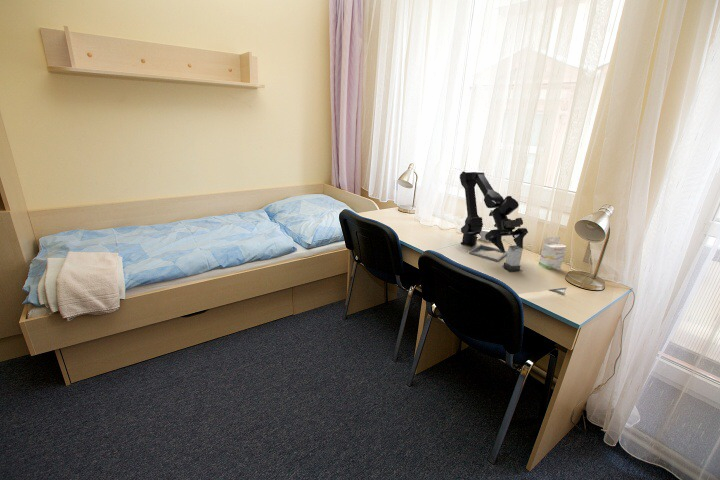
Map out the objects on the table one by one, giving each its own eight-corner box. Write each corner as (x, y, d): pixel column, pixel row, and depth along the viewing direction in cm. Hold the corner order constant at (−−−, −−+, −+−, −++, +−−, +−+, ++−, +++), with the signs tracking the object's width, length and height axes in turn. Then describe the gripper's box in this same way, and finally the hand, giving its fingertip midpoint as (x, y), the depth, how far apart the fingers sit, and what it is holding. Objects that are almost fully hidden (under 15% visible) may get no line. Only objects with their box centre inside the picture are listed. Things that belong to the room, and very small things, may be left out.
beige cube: (491, 239, 189) (493, 229, 186) (487, 242, 184) (489, 231, 182) (480, 236, 192) (482, 226, 190) (476, 239, 188) (478, 229, 185)
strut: (503, 266, 150) (507, 245, 147) (512, 265, 151) (516, 245, 148) (510, 271, 146) (514, 249, 142) (519, 270, 147) (524, 249, 144)
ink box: (545, 271, 150) (553, 240, 145) (537, 267, 155) (544, 237, 150) (561, 270, 152) (569, 239, 147) (552, 265, 157) (560, 236, 152)
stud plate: (498, 268, 151) (499, 265, 151) (512, 267, 153) (512, 264, 153) (509, 275, 145) (509, 272, 145) (522, 274, 147) (523, 271, 146)
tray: (468, 256, 164) (469, 251, 163) (479, 248, 174) (480, 244, 173) (497, 264, 156) (498, 259, 155) (507, 256, 166) (508, 251, 165)
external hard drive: (540, 289, 136) (546, 278, 145) (562, 296, 131) (568, 285, 140) (540, 285, 135) (547, 275, 144) (563, 292, 130) (569, 281, 139)
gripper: (493, 212, 144) (505, 245, 138) (529, 210, 149) (543, 242, 142) (479, 224, 154) (490, 255, 147) (514, 222, 158) (526, 252, 152)
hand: (512, 251), depth 147 cm, fingers open, 9 cm apart
